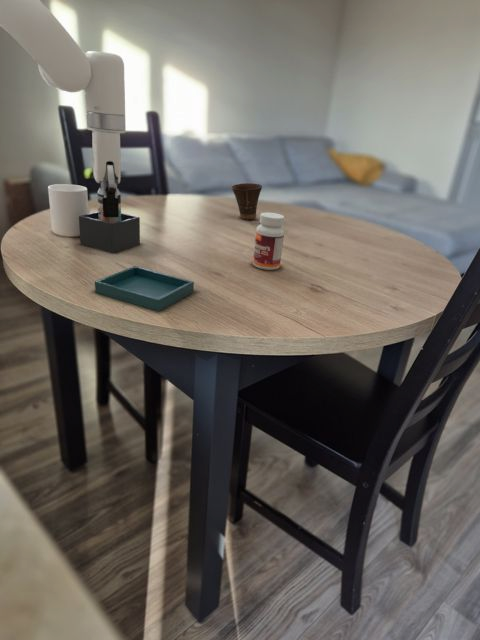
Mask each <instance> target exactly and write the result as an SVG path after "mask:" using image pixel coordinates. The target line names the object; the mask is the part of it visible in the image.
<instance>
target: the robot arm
mask: <svg viewBox="0 0 480 640" xmlns="http://www.w3.org/2000/svg"><path fill="white" fill-rule="evenodd" d="M0 28H2V29H3V30H4V31H5V32H7V33H8V35H10V36H11V37H12V38H13V39H14V40H15V41H16V42H17V43H18V44H19V45H20V46H21V47H22V48H23V49H24V50H25V51H26V52H27V53H28V54H29V55H30V57H31V58H32V59H33V60H34V61H35V62H36V63H37V67H38V71H39V74H40V76H41V77H42V79H43V80H44V81H45V82H46V84H48V86H50V87H52V88H54V89H56V90H59V91H62V92H67V93H79V92H82V91H84V96H85V97H84V101H85V117H86V118H85V119H86V130H88V131H92V134H91V135H92V139H91V141H92V143H91V144H92V145H91V146H92V168H93V169H92V170H93V171H92V174H93V178H94V180H95V182H96V183H97V184H100V187H103V194H104V197H102V201H103V216H104V217H119V205H118V196H117V188H118V184H120V183H121V175H122V160H121V159H122V158H121V155H122V154H121V153H122V152H121V151H122V150H121V134H126V133H127V132H126V131H127V130H126V129H127V128H126V126H127V125H126V87H125V62H124V59H123V58H122V57H121V56H120V55H118V54H115V53H113V52H105V51H97V50H88V51H84V50H83V49H82V47H80V45H79V44H78V43H77V42H76V40H75V39H74V38H73V37H72V35H71V34H70V33H69V32H68V30H67V29H66V28H65V27H64V26H63V24H62V23H61V22H60V20H59V19H58V18H57V17H56V16H55V15H54V14H53V13H52V11H51V10H50V9H49V8H48V7H47V6H46V5H45V4H44V3H43V2H42V1H41V0H0Z"/></svg>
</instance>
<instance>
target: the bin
mask: <svg viewBox="0 0 480 640" xmlns="http://www.w3.org/2000/svg"><path fill="white" fill-rule="evenodd" d="M79 229H80V236H79V240H80V243H79V245H81V246H85V247H89V248H92V249H96V250H99V251H100V250H101V251H105V252H108V253H111V254H116V253H118V252H119V253H120V252H123V251H125V250H129V249H131V248H134V247H136V246H140V245H141V218H140V216H137V215H131V214H127V213H122V212H121V221H119V222H116V223H110V222H105V221H101V220H99V216H98V211H95V212H90V213H89V214H85V215H81V216H79Z"/></svg>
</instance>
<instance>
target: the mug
mask: <svg viewBox="0 0 480 640" xmlns="http://www.w3.org/2000/svg"><path fill="white" fill-rule="evenodd" d="M47 193H48V203H49V211H50V212H49V213H50V223H51V224H50V225H51V230H52V232H53V234H55V235H57V236H59V237H66V238H77V237H79V238H80V229H79V216H81V215H85V214H90V213H89V197H88V188H87V187H86V186H83V185H78V184H72V183H71V184H69V183H56V184H50V185H48V186H47Z"/></svg>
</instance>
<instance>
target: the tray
mask: <svg viewBox="0 0 480 640" xmlns="http://www.w3.org/2000/svg"><path fill="white" fill-rule="evenodd" d="M194 287H195V281H192V280H189V279H184V278H180V277H177V276H174V275H169V274H166V273H163V272H159V271H155V270H151V269H148V268H144V267H141V266H137V265H134V266H131V267H128V268H126V269H123V270H121V271H118V272H116V273H113V274H110V275H108V276H105V277H103V278H100V279H98V280H95V281H94V293H96V294H100V295H102V296H106V297H110V298H112V299H116V300H120V301H123V302H126V303H129V304H133V305H136V306H140V307H143V308H146V309H150V310H153V311H156V312H160V311H162V310H164V309H165V308H168V307H169V306H171V305H172V304H175V303H176V302H178V301H180V300H181V299H183V298H185V297H187V296H189V295H190V294H193V293H194Z"/></svg>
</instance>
